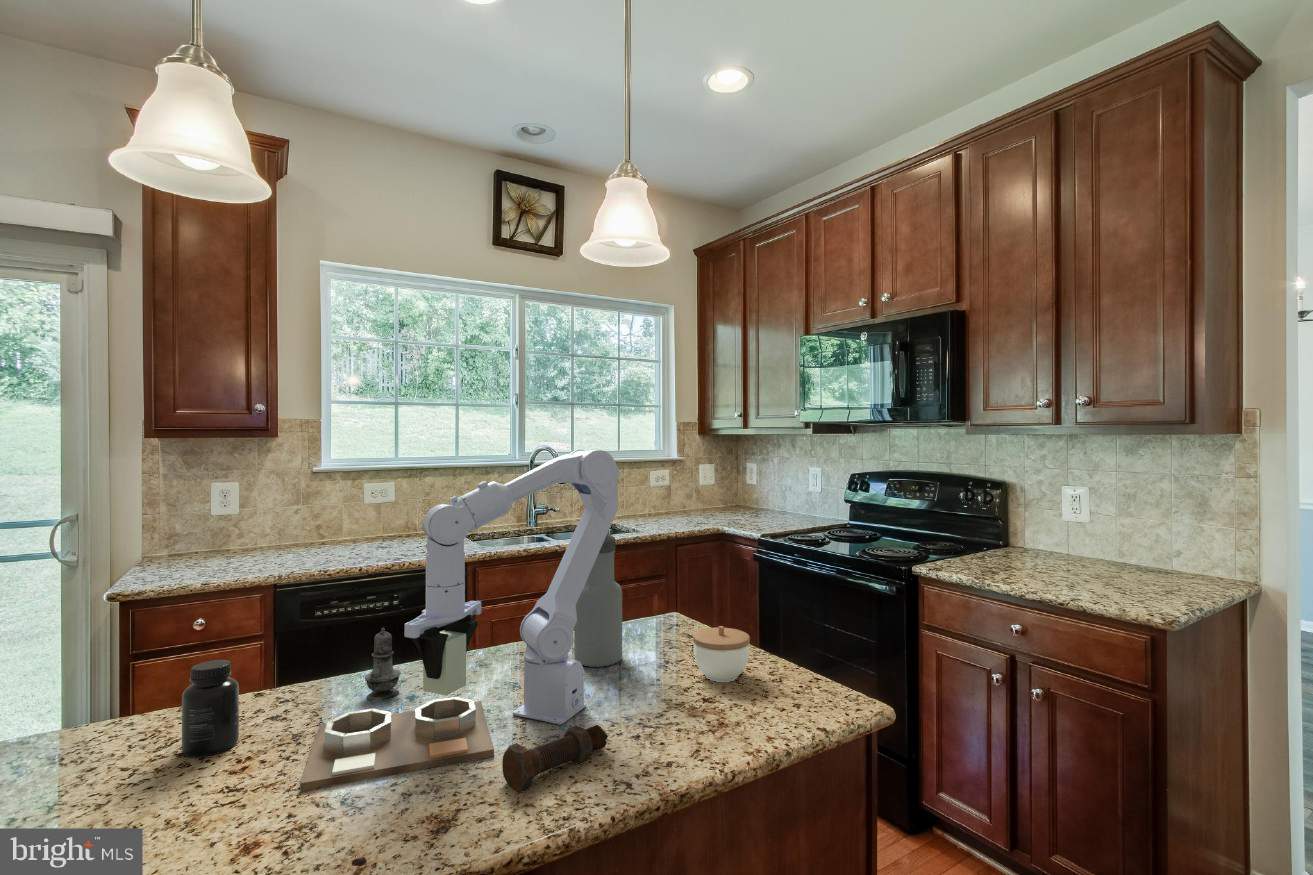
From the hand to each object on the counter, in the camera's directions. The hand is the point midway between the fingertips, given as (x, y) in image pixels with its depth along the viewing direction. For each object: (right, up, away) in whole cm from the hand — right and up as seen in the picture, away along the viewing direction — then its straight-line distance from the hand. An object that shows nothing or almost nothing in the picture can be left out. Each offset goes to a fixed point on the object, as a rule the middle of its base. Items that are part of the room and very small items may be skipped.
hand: (445, 672), depth 96 cm
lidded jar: (+45, -10, +23) cm, 51 cm away
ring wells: (-6, -8, -2) cm, 10 cm away
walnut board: (-5, -9, -4) cm, 11 cm away
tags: (-3, -8, -10) cm, 13 cm away
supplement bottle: (-33, -9, -5) cm, 34 cm away
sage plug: (0, -3, 0) cm, 3 cm away
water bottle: (+20, -10, +32) cm, 39 cm away
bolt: (+19, -9, -11) cm, 24 cm away
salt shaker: (-16, -10, +14) cm, 23 cm away
